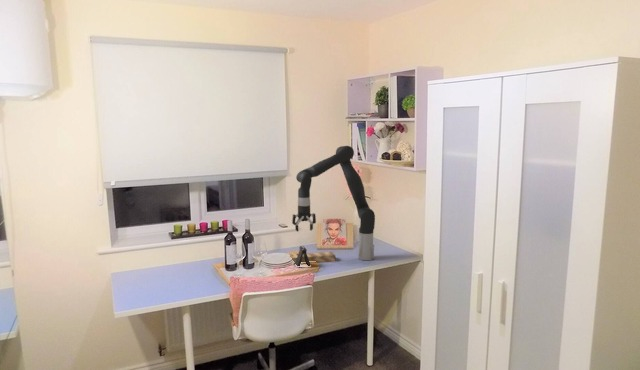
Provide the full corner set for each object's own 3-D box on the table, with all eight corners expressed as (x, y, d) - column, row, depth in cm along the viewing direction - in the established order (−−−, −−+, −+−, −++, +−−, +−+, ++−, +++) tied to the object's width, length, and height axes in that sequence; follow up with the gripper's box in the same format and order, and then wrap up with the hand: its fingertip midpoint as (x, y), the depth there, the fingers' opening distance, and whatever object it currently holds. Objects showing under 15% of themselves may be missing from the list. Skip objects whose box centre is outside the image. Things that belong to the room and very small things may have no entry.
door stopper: (308, 264, 275) (308, 245, 274) (311, 267, 269) (311, 247, 268) (294, 265, 273) (294, 246, 271) (296, 268, 267) (296, 248, 266)
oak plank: (331, 257, 290) (331, 251, 290) (335, 261, 282) (335, 254, 282) (289, 260, 282) (289, 254, 282) (291, 264, 275) (291, 257, 274)
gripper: (313, 203, 276) (313, 228, 278) (291, 204, 272) (291, 230, 274) (317, 204, 269) (317, 231, 271) (294, 206, 265) (294, 232, 267)
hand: (304, 230), depth 272 cm, fingers open, 8 cm apart
